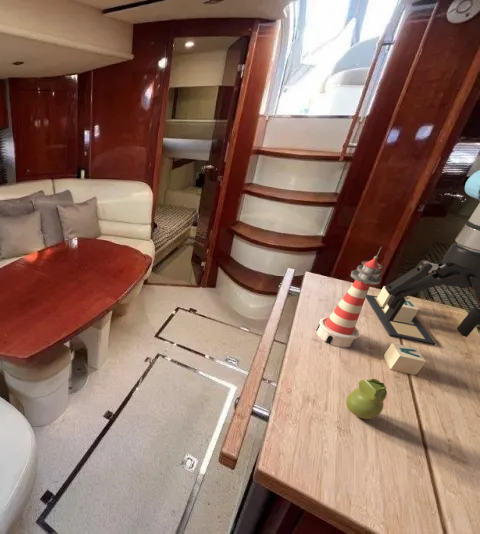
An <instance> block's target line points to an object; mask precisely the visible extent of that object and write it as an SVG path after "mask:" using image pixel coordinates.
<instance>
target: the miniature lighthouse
mask: <svg viewBox="0 0 480 534" xmlns="http://www.w3.org/2000/svg"><path fill="white" fill-rule="evenodd" d="M382 247H383V246H381V247H380V248H379V251H378V252H377V254H376V255H375V256H373V258H372V259H371V260H363V261H361V264H359V265H358V266H357V267H356V269H354V270H352V271H351V273H350V277H351V278H352V279H353V280H354V282H353V283H352V284H351V285H350V287H349V289H348V290H347V292H346V293H345V294H344V296H343V297H342V298H341V300H340V301H339V302H338V304H337V305H336V307H335V308H334V310H333V311H332V312H331V314H330V315H329V316H325V317H322V318H320V319H319V322H318V323H319V324H318V325H317V327H316V334H317V336H318V337H319V338H320V339H321V340H322V341H324V342H325V343H326V344H328V345H331V346H335V347H338V348H348V347H351V346H352V345H353V343H354V341H355V340H356V339H357V338H359V336H360V332H359V330H358V328H357V327H356V325H357V323H358V320H359V317H360V315H361V312H362V309H363V306H364V304H365V300H366V299H367V298H366V295H368V293H369V289H370V287H371V285H373V286H374V285H375V286H376V285H380V283H381V282H382V280H383V279H382V277H381V275H382V274H383V272H382V271H381V270H382V269H383V268H384V267H383V265H382V264H380V263H379V262H378V259H379V256H378V255H379V254H380V251H381V250H382Z"/></svg>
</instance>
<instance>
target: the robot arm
mask: <svg viewBox="0 0 480 534" xmlns="http://www.w3.org/2000/svg"><path fill="white" fill-rule="evenodd" d="M464 192H465V194H466V195H468V196H469V197H471V198H474V199H476V200H478V201H480V169H479V170H477V171H476V172H474V173H473V174H471V176H469V177H468V179H466V182H465V185H464ZM454 241H455V242H454V243H452V244H451V245H450V247H449V248H448V250H447V251H446V253H445V254H444V255H443V259H442V261H440V262H439V263H434V262H430V261H428V260H426V259H421V260H420V261H419V262H418V264H417V265H416V266H415V267H413V268H412V269H411V270H409V271H408V272H406V273H405V274H403V275H401V276H399V277H398V278H397V279H395V280H393V281H392V282H390V283H389V284H387V285H385V286H386V287H385V289H386V291H387V292H388V293H389V294H390V295H392V296H391V297H390V299H389V301H388V302H387V305H388V307H389V308H388V310H387V311H386V313H385V314H384V315H385V316H386V318H387V319H388V321H393V320H394V318H395V317H396V315H397V314H398V312H399V310H400V309H401V307H402V306H403V304H404V303H405V301H406V300H405V299H404V297H407V296H409V297H410V296H411V295H415V294H418V293H420V292H423V291H425V290H428V289H430V288H433V287H440V286H442V285H445V286H448V287H457V288H460V289H466V288H468V289H469V290H470V293H471V294H472V296H473V298H474V300H475V302H476V304H477V306H478V308H477V307H472V309H471V310H470V311H469V312H468V313H467V315H466V316H465V317H464V318H463V320H461V322H460V324H458V326H457V327H456V331H457V332H458V333H459V334H460V335H461V336H462V337H465V338H467V337H468V336H470V334H471V333H472V332H473V331H474V329H476V327H477V326H480V202H479V203H478V205H477V206H476V208H475V209H474V211H473V212H472V214H471V216H470V217H469V219H468V220H467V221H466V223H465V224H464V226H463V227H462V229H461V230H460V231H459V233H458V235H457V236H456V237H455V239H454ZM433 271H434V272H433ZM428 273H429V274H428ZM425 276H426V277H425Z"/></svg>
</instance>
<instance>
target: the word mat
mask: <svg viewBox="0 0 480 534" xmlns="http://www.w3.org/2000/svg"><path fill="white" fill-rule="evenodd" d="M377 297H378V295H371V294H367V295H366V298H365V299H366V300H367V302H368V304H369V305H370V307H371V308H372V310H373V311H374V313H375V315H376V316H377V318H378V320H379V321H380V323H381V325H382V327H383V328H384V329H385V331H386V333H387V335H388V336H389V337H390V338H391V337H392V338H396V339H401V340H406V341H410V342H415V343H420V344H426V345H429V346H436V344H437V343H436V342H435V340H434V339H433V338H432V337H431V335H430V334H429V333H428V331H427V330H426V329H425V327H424V326H423V325H422V323H421V322H420V321H419V319H418V318H417V317H416V315H415V316H414V318H413V319H412V321H411V322H405V321H400V320H395V319H394V320H393V321H388V319H387V318H386V316H385V315H384V314H385V313H386V312H385V311H384V308H385V307H384V306H382V305H381V304H380V302H379V300H378V299H377Z"/></svg>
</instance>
